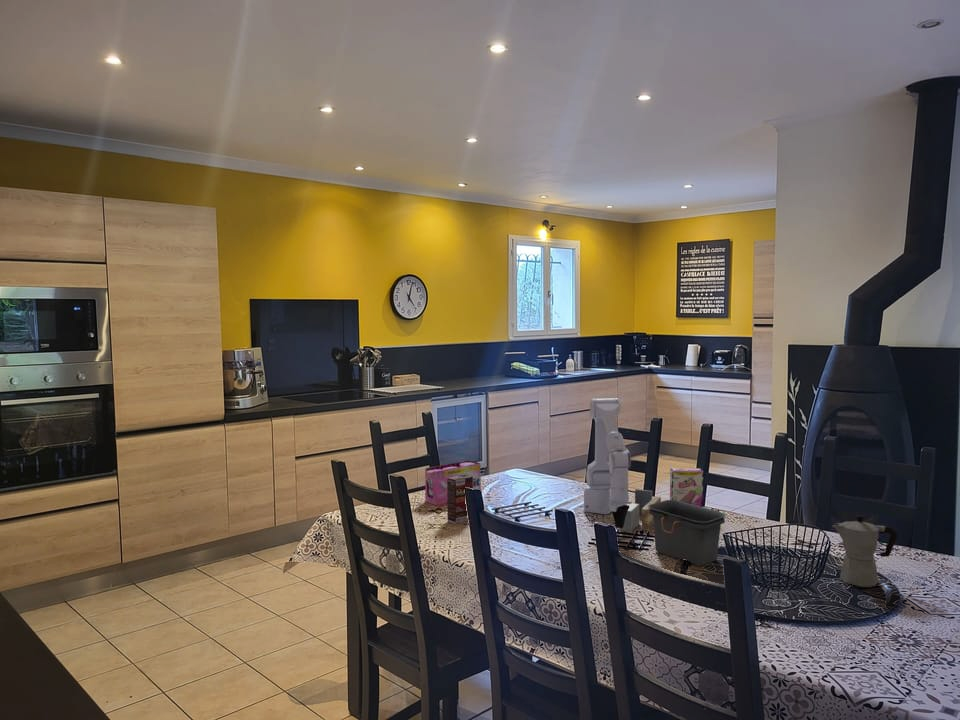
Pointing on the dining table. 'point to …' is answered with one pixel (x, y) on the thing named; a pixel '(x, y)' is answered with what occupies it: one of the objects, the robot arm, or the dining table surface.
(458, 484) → the supplement box
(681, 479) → the candy bar box
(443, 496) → the gum box
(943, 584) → the dining table surface
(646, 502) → the bookend
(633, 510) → the boxed book
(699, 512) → the storage bin
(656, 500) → the shelf wall
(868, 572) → the coffeepot
